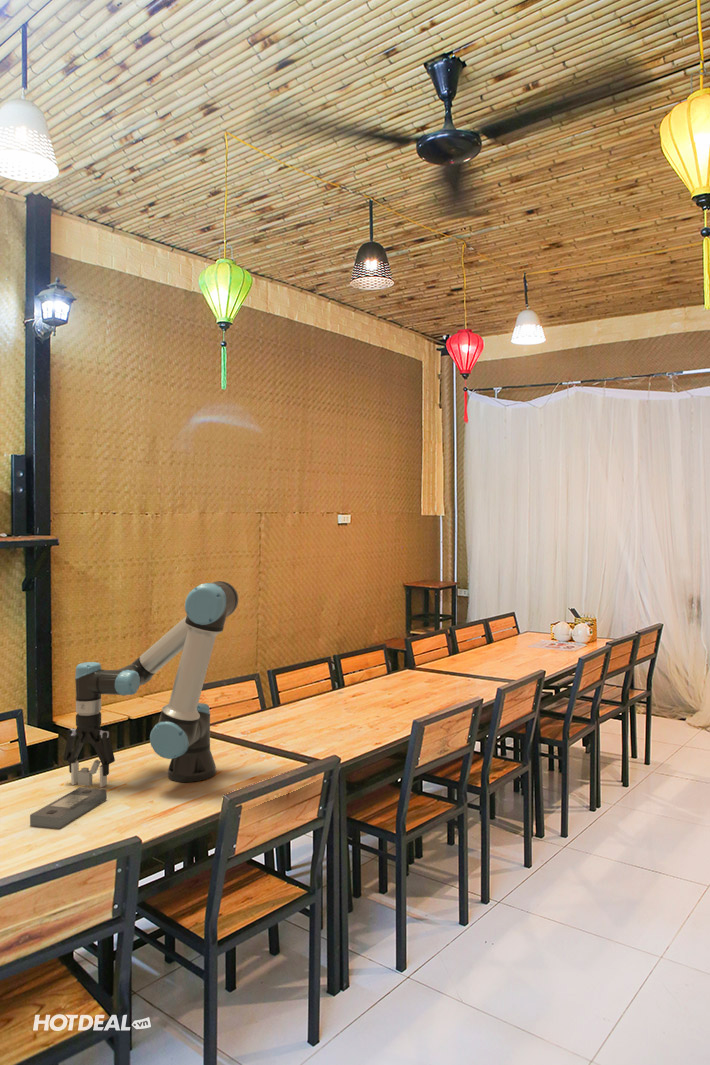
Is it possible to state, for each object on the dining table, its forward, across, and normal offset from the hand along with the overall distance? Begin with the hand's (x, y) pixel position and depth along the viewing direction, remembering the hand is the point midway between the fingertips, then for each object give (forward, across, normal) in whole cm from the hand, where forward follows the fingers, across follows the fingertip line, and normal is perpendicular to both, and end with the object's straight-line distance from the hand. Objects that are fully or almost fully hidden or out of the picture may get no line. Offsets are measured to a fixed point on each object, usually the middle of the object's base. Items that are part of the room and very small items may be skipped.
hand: (89, 784), depth 231 cm
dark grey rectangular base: (0, +8, -21) cm, 23 cm away
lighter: (0, 0, 0) cm, 0 cm away
